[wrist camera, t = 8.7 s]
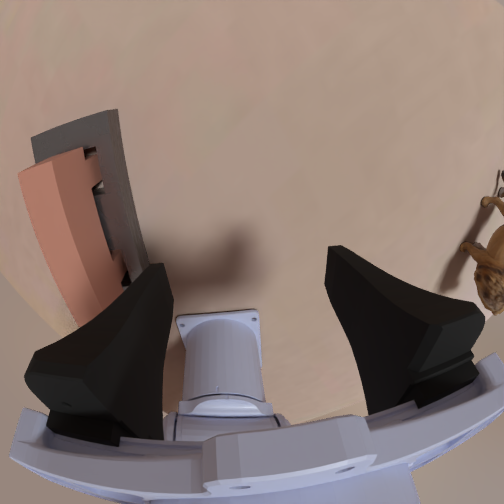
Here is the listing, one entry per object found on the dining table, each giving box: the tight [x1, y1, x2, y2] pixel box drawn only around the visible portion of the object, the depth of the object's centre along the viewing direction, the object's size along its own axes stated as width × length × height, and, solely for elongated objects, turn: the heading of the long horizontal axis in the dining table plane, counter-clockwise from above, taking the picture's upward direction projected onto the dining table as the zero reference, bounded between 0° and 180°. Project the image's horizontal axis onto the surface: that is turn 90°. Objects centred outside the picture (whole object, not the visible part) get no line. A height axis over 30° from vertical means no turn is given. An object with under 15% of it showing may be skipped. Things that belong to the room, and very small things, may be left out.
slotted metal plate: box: [31, 109, 150, 291], centre depth 19 cm, size 16×7×2 cm, turn 3°
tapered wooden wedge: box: [18, 147, 127, 327], centre depth 17 cm, size 12×3×6 cm, turn 3°
